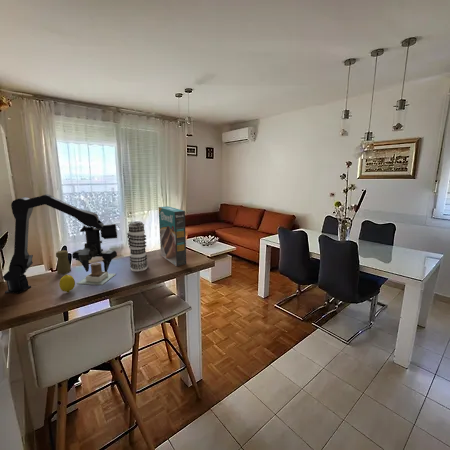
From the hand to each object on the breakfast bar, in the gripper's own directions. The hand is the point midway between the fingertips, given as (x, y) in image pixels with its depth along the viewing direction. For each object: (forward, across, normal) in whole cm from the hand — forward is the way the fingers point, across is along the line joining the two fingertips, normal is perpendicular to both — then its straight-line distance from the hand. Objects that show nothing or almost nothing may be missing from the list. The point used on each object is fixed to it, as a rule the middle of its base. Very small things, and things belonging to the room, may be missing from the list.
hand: (96, 271), depth 117 cm
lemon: (+4, -4, -14) cm, 15 cm away
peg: (+3, 0, 0) cm, 3 cm away
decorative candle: (+4, +14, +15) cm, 21 cm away
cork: (+4, -22, +7) cm, 23 cm away
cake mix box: (+4, +28, +30) cm, 41 cm away
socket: (+4, 0, 0) cm, 4 cm away
